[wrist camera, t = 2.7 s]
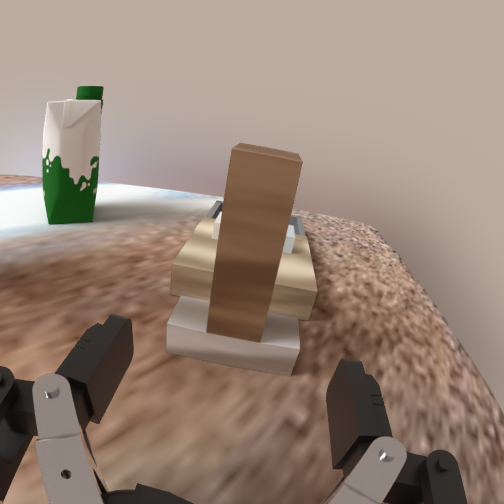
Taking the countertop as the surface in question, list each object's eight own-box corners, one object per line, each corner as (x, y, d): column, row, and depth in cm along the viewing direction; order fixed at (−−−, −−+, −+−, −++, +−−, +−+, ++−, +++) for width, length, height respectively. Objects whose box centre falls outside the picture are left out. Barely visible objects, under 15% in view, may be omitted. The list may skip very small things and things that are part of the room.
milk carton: (98, 224, 43) (107, 85, 35) (41, 227, 39) (43, 87, 30) (97, 204, 50) (105, 87, 41) (47, 207, 45) (51, 88, 37)
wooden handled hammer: (290, 376, 24) (353, 174, 17) (166, 352, 24) (180, 141, 17) (289, 344, 28) (340, 163, 21) (179, 322, 28) (197, 136, 21)
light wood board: (308, 320, 31) (317, 291, 30) (170, 294, 31) (171, 263, 30) (300, 259, 44) (306, 236, 42) (200, 240, 44) (203, 216, 42)
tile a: (246, 245, 37) (249, 228, 36) (212, 238, 37) (214, 222, 36) (249, 232, 40) (252, 217, 39) (218, 226, 40) (220, 211, 39)
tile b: (291, 253, 37) (295, 237, 36) (256, 247, 37) (259, 230, 36) (290, 240, 40) (293, 225, 39) (258, 234, 40) (261, 219, 39)
